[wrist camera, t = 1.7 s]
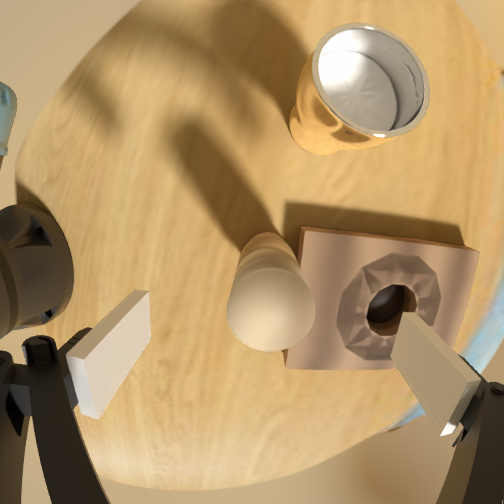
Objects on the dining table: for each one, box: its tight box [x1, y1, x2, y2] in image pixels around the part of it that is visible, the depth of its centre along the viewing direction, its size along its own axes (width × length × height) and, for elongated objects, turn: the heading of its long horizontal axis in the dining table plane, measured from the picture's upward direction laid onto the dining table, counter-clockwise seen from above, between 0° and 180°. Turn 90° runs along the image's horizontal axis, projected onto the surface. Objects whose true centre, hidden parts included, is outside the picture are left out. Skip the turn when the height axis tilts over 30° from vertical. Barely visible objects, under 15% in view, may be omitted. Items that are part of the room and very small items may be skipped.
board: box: [283, 226, 480, 370], centre depth 29 cm, size 20×14×3 cm
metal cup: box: [289, 23, 430, 155], centre depth 20 cm, size 7×7×15 cm
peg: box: [227, 232, 316, 351], centre depth 23 cm, size 5×5×14 cm
